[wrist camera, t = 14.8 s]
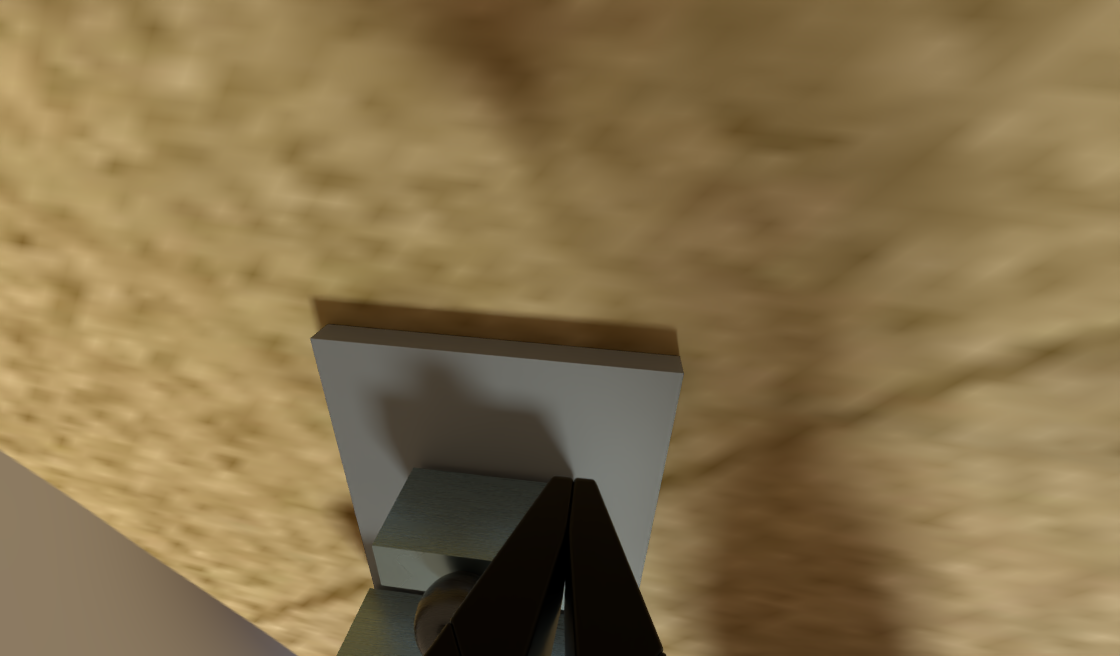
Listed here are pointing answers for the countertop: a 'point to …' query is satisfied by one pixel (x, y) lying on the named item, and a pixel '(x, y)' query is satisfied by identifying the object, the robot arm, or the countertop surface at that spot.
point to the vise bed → (497, 419)
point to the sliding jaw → (436, 558)
